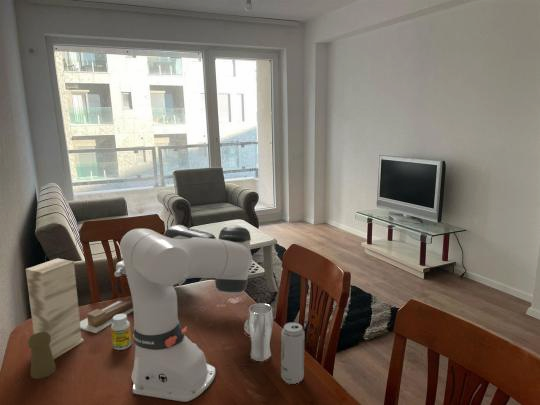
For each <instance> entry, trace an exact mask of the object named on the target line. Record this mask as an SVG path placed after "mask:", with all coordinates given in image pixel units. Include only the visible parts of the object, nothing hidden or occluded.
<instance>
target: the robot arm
mask: <svg viewBox="0 0 540 405" xmlns="http://www.w3.org/2000/svg"><path fill="white" fill-rule="evenodd" d="M218 234H219V235H218V238H217V237H216V235H214V234H213V233H210V232H207V231H204V230H203V231H202V230H199V229H194V228H190V227H188V226H185V225H183V224H175V225H171V226H169V227H168V228H166V229H165V232H164V233H163V234H161V233H159V232H157V231H155V230H152V229H149V228H134V229H130V230H129V231H127V232H126V233H125V234H124V235H123V237H121V240H120V243H119V251H120V252H119V253H120V254H121V258H122V259H121V260H120V261H118V262H117V263H116V265H115V270H116V271H114V277H118V278H119V277H121V276H122V275H125V276H126V279H127V283H128V286H129V290H130V294H131V297H132V301H133V311H132V312H133V321H134V322H133V324H134V326H133V327H132V337H133V342H134V345H135V346H134V347H135V349H134V362H133V369H132V373H131V381H132V383H133V386H132V393H133V394H135V395H140V396H146V397H153V398H160V399H165V400H170V401H171V400H172V401H178V402H189V401H192V400H194V399H196V398H198V397H199V396H200V395H201V394H202V393H204V391H206V390H207V388H209V387H210V385H211V384H212V383H213V381H214V379H215V377H216V372H217V371H216V368H215V366H213V365H211V364H209V363H207V359H206V358H207V357H206V356H205V353H204V352H203V350H201V349H200V348H199V347H198V344H197V343H193V342H192V341H191V339H189V338H188V337H187V336H186V335H185V332H187V331H188V329H187V327H188V326H187V325H186V326H184V328H183V327H182V325H181V322H180V320H179V317H178V316H179V314H178V295H177V291H176V289H175V288H174V286H175V285H177V284H179V283H180V282H182V281H183V280H186V279H187V280H188V279H193V278H201V279H202V278H205V279H206V278H207V279H208V278H210V279H211V278H213V279H214V282H215V287H216V289H217V290H218V291H220V292H222V293H223V294H227V295H237V294H239V293H243V292H244V291H245V290H246V289H247V287H248V283H249V280H248V277H249V271H250V268H251V266H252V265H253V255H252V252H251V241H252V238H251V233H250V231H249V230H248V228H245V227H243V226H241V225H237V224H231V225H228V226H225V227H223V228H222V229H221V230H220V232H219V233H218Z"/></svg>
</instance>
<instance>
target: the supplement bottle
mask: <svg viewBox="0 0 540 405" xmlns="http://www.w3.org/2000/svg"><path fill="white" fill-rule="evenodd" d="M110 331H111V341H112V342H111V343H112V348H113V349H114V350H116V351H121V350H125V349H128V348H129V347H130V346H131V345H132V334H131V323H130V321H129V320H128V314H127V315H126V314H117V315H115V316H114V317H113V323H112V324H111V326H110Z"/></svg>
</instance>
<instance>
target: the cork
mask: <svg viewBox="0 0 540 405" xmlns="http://www.w3.org/2000/svg"><path fill="white" fill-rule="evenodd" d="M50 342H51V336H50V335H49V334H48V333H47V332H39V333H36V334H34V333H33V334H32V335H31V336H30V337H29V339H28V341H27V344H28V347H29V348H30V349H31V355H30V359H31V360H30V377H31V378H32V379H34V380H35V379H38V380H40V379H43V378H48V377H49V376H51V375H52V374H54V373H55V372H56V370H57V367H56V363H55V361H54V360H55V359H53V356H52V352H51V349H50V346H49V344H50Z"/></svg>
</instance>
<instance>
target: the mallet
mask: <svg viewBox="0 0 540 405" xmlns="http://www.w3.org/2000/svg"><path fill="white" fill-rule="evenodd" d="M132 308H133V301H132V296H130V297H129V298H127V299H125V300H122V301H121V302H120V303H118V304H116V305H114V306H112V307H110V308H107V309H105V310H103V309H99V308H96V309H95V310H92V311H89V312H87V314H86V315H87V316H86V318H88V325H90V326H93V327H95V328H96V327H98V326H100V325H102V324H104V323H106V321H108V320H110V319H112V318H113V317H114V316H115V315H117V314H122V313H124V312H126V311H128V310H130V309H132Z"/></svg>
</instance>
